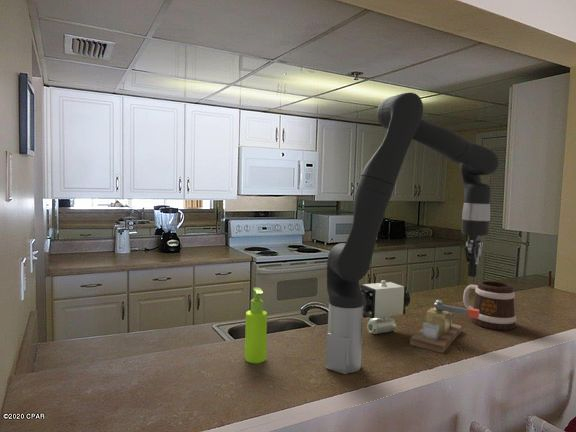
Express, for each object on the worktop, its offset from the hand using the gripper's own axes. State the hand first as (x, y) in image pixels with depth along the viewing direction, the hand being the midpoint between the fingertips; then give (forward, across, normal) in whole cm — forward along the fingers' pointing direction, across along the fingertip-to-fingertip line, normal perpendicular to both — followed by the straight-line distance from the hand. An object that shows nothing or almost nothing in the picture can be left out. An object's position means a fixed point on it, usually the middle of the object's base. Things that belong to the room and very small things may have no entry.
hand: (472, 276), depth 121 cm
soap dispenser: (+23, -46, +46) cm, 69 cm away
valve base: (+23, +5, +10) cm, 26 cm away
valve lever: (+14, +5, +5) cm, 16 cm away
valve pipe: (+21, +5, +11) cm, 24 cm away
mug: (+23, +34, 0) cm, 41 cm away
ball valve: (+23, -2, +28) cm, 36 cm away
